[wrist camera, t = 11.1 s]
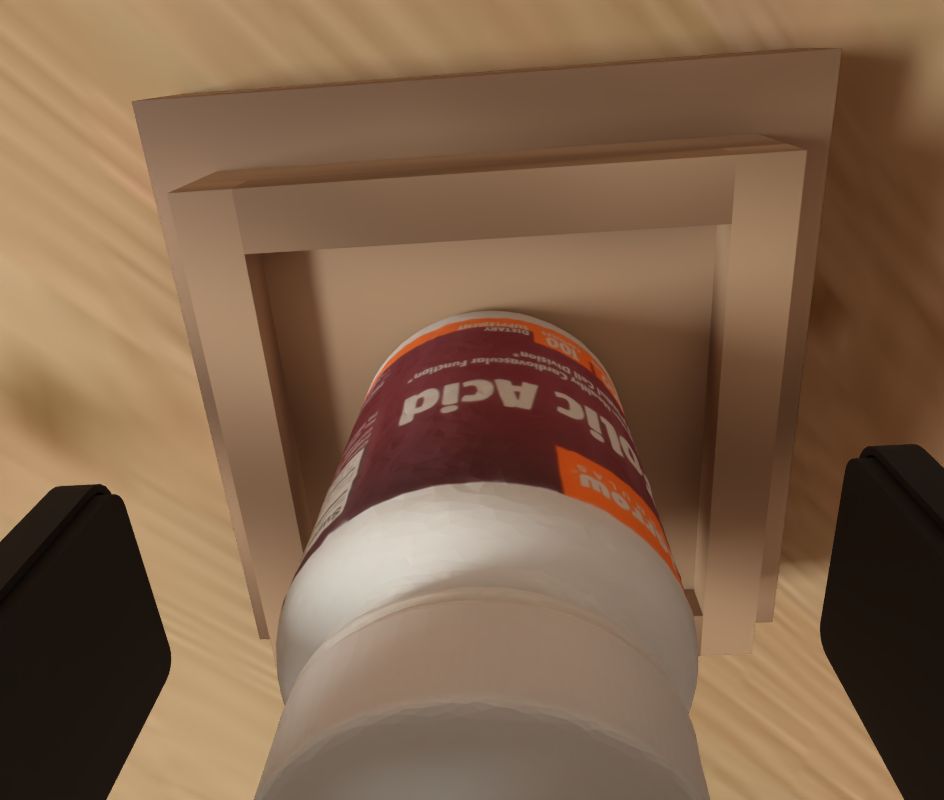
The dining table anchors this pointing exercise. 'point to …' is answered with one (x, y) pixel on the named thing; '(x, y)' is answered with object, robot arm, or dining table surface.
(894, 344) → the dining table surface
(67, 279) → the dining table surface
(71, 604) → the robot arm
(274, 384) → the plinth
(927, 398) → the dining table surface
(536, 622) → the pill bottle
